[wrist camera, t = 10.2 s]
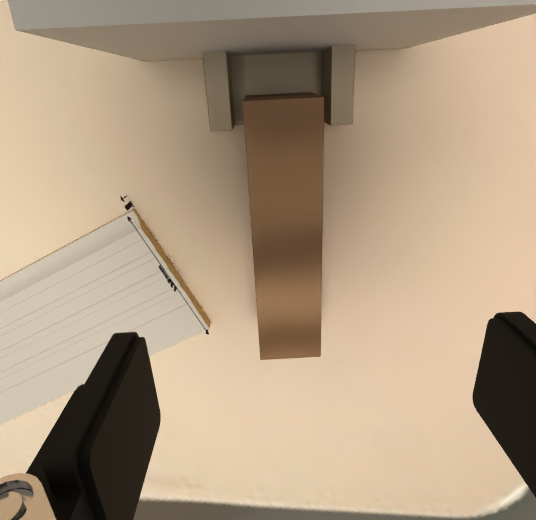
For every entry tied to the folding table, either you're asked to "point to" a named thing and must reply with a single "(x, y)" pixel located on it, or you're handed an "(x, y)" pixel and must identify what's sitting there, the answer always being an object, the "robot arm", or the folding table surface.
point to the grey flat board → (87, 311)
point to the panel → (261, 39)
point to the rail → (286, 219)
